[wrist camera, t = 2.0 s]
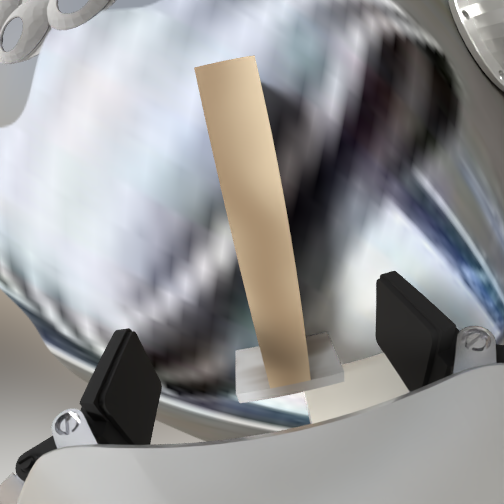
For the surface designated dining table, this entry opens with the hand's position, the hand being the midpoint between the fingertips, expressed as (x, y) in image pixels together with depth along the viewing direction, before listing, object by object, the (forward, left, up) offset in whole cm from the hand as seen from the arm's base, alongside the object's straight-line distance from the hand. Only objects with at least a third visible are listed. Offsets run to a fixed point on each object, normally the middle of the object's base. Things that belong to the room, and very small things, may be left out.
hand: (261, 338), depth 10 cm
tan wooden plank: (-1, -1, -9) cm, 9 cm away
